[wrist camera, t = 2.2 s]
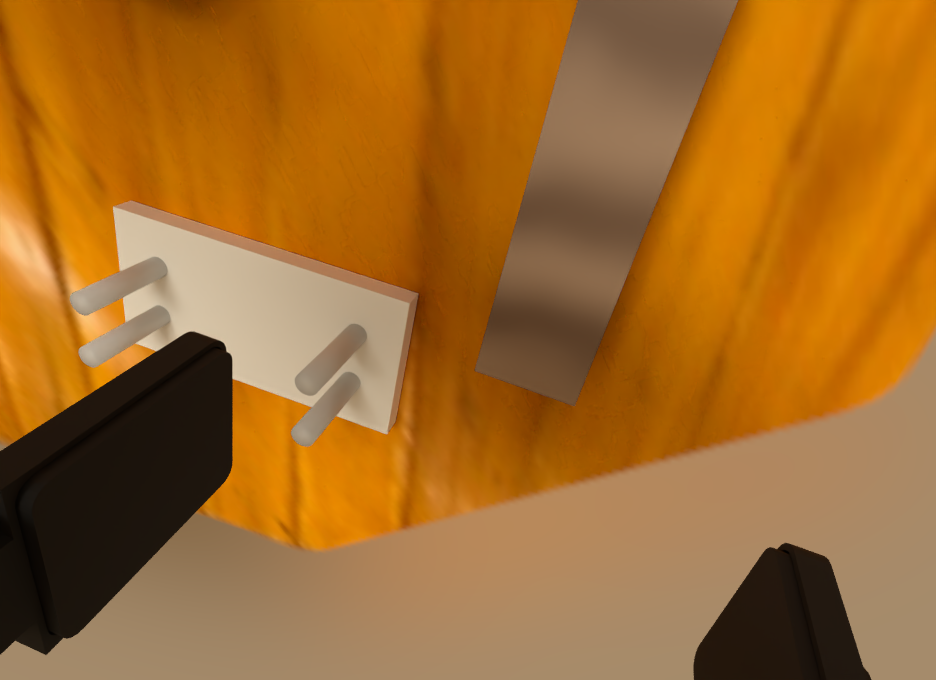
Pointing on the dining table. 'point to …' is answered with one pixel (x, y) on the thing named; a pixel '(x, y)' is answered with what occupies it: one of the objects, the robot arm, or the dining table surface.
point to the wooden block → (596, 183)
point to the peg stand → (259, 316)
